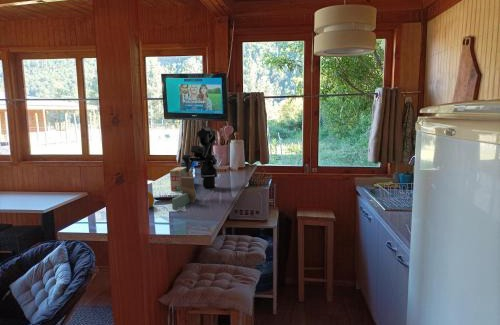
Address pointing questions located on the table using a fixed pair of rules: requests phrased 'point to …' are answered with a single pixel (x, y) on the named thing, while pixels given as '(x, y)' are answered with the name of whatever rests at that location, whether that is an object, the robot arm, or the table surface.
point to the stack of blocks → (178, 177)
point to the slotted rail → (181, 200)
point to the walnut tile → (188, 187)
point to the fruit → (150, 199)
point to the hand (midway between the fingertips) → (194, 172)
